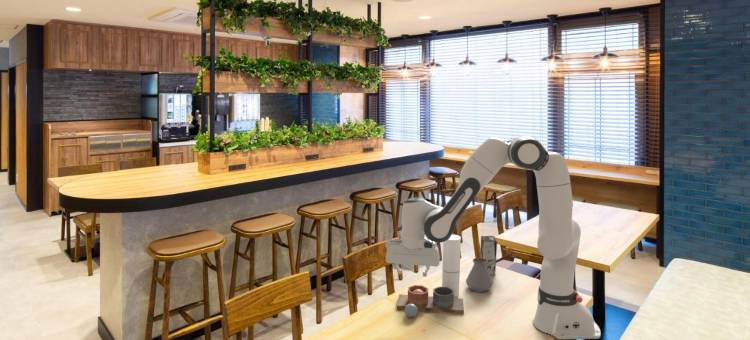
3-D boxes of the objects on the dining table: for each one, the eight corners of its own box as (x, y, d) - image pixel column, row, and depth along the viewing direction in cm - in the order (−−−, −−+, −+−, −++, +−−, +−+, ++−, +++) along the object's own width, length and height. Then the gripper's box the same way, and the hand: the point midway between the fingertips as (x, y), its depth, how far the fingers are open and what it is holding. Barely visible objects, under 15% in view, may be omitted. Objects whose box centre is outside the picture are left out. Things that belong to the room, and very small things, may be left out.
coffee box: (495, 275, 209) (497, 241, 207) (481, 274, 210) (483, 241, 207) (492, 267, 218) (494, 235, 215) (479, 267, 219) (480, 235, 216)
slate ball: (417, 313, 173) (418, 301, 172) (417, 320, 168) (417, 307, 167) (405, 312, 174) (405, 300, 173) (403, 319, 169) (403, 306, 168)
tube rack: (463, 302, 182) (463, 287, 181) (463, 314, 173) (464, 298, 172) (399, 297, 186) (399, 283, 185) (396, 309, 177) (396, 293, 176)
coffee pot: (472, 295, 189) (473, 261, 186) (461, 283, 200) (462, 251, 197) (518, 290, 193) (520, 257, 190) (506, 280, 204) (507, 248, 201)
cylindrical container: (458, 290, 193) (460, 234, 189) (459, 297, 186) (461, 240, 182) (441, 289, 194) (442, 234, 190) (442, 297, 187) (443, 239, 183)
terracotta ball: (424, 298, 182) (425, 287, 181) (423, 304, 177) (424, 293, 176) (412, 297, 183) (412, 286, 182) (411, 303, 178) (411, 291, 177)
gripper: (384, 241, 167) (383, 276, 169) (439, 244, 163) (438, 280, 166) (386, 235, 173) (386, 269, 175) (440, 239, 169) (439, 273, 172)
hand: (412, 274), depth 170 cm, fingers open, 8 cm apart
